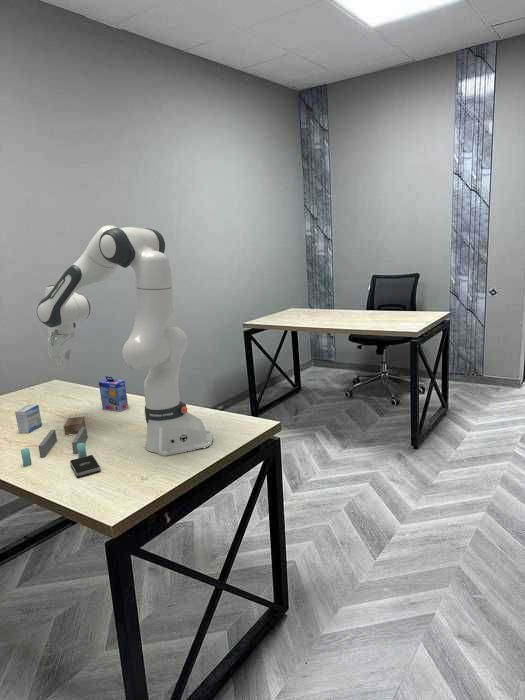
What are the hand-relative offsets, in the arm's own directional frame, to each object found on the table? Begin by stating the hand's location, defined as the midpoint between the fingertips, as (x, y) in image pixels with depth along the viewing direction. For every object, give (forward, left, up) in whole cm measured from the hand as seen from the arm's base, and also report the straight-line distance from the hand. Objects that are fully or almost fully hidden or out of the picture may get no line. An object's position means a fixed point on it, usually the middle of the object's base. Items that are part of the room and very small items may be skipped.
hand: (63, 362), depth 183 cm
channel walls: (-3, +24, -24) cm, 34 cm away
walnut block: (-3, +9, -24) cm, 26 cm away
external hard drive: (-14, +44, -25) cm, 52 cm away
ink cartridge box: (-14, -12, -24) cm, 30 cm away
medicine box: (+15, +3, -24) cm, 29 cm away
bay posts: (-3, +36, -24) cm, 43 cm away
